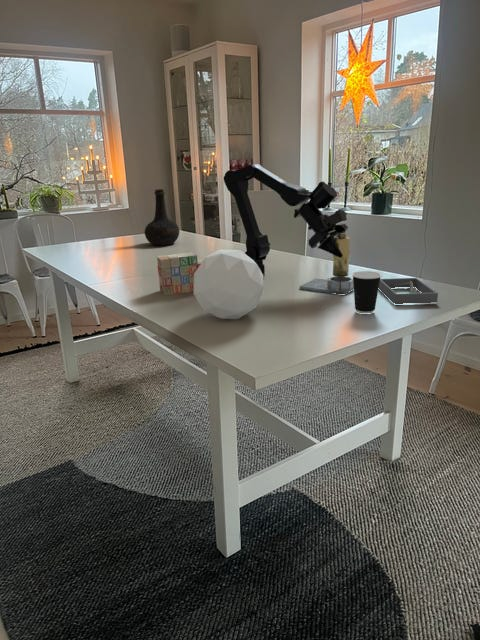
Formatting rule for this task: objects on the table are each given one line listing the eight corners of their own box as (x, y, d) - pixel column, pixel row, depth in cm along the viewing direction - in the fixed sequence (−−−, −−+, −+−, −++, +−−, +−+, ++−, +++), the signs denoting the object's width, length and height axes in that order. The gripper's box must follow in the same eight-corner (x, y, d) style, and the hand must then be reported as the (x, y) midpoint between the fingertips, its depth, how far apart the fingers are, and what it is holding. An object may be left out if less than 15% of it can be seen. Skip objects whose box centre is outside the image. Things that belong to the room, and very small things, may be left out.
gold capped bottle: (338, 277, 154) (340, 235, 150) (329, 274, 159) (331, 233, 154) (351, 275, 156) (353, 233, 152) (342, 272, 161) (343, 231, 156)
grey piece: (299, 289, 161) (299, 278, 160) (315, 281, 170) (315, 271, 169) (344, 295, 152) (344, 284, 151) (359, 286, 162) (359, 276, 160)
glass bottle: (141, 247, 247) (135, 191, 237) (152, 241, 263) (147, 188, 254) (174, 247, 244) (170, 190, 235) (184, 241, 260) (180, 187, 251)
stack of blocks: (218, 283, 173) (216, 249, 169) (224, 287, 167) (222, 252, 163) (159, 291, 166) (156, 255, 162) (163, 295, 160) (160, 259, 156)
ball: (215, 343, 136) (167, 292, 129) (238, 300, 150) (196, 252, 143) (265, 321, 124) (215, 263, 117) (285, 277, 138) (242, 223, 131)
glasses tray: (394, 305, 140) (395, 294, 139) (378, 289, 158) (378, 279, 156) (436, 304, 140) (438, 293, 139) (415, 288, 157) (416, 277, 156)
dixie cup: (344, 312, 136) (346, 274, 133) (360, 306, 141) (362, 269, 138) (369, 318, 131) (371, 279, 127) (384, 311, 136) (387, 273, 132)
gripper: (318, 204, 145) (351, 243, 143) (343, 198, 159) (374, 234, 157) (294, 229, 152) (325, 267, 149) (321, 221, 166) (350, 256, 164)
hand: (345, 255), depth 155 cm, fingers closed on gold capped bottle, 5 cm apart
